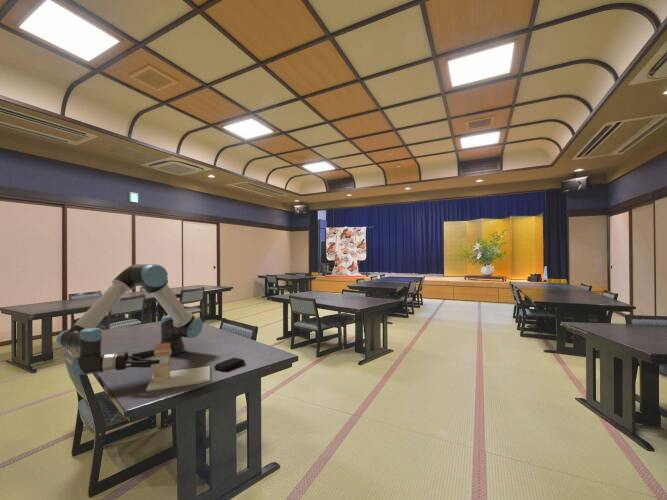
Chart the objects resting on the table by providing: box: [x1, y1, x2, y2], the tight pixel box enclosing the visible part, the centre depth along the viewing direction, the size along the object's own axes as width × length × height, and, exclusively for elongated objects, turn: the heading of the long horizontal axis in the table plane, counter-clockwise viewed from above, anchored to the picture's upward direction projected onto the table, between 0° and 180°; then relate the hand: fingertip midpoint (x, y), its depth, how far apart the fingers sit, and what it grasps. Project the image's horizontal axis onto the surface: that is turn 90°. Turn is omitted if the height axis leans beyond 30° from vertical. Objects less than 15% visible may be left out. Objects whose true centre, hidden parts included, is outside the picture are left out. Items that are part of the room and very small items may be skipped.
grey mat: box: [145, 365, 211, 392], centre depth 147 cm, size 26×20×1 cm
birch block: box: [153, 343, 171, 382], centre depth 144 cm, size 6×6×16 cm
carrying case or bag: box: [214, 357, 246, 372], centre depth 163 cm, size 11×3×15 cm
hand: (169, 355), depth 145 cm, fingers open, 13 cm apart
